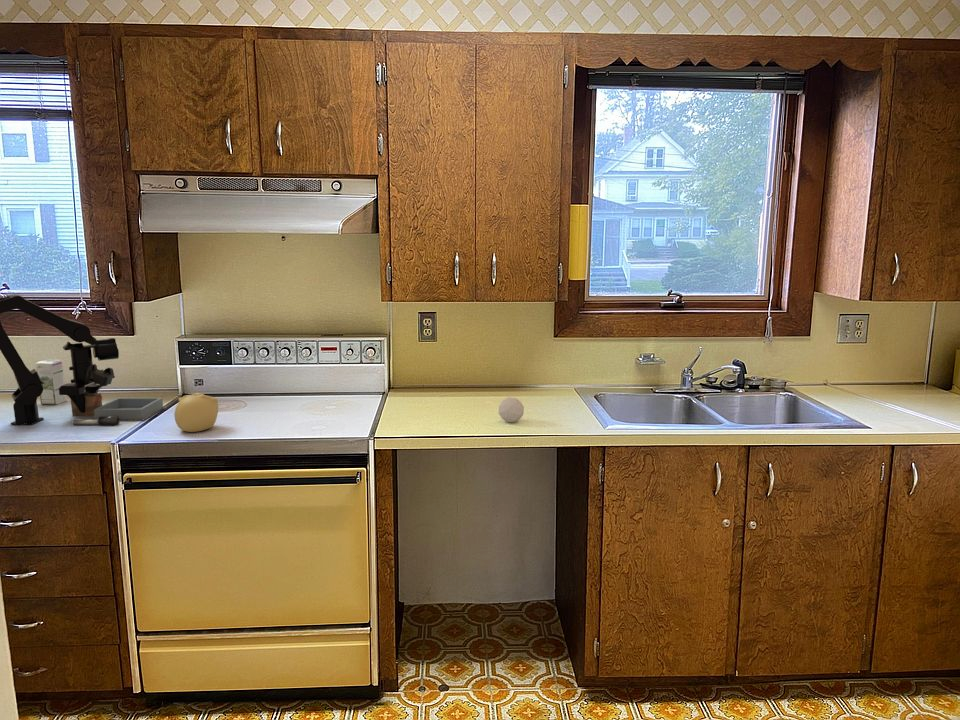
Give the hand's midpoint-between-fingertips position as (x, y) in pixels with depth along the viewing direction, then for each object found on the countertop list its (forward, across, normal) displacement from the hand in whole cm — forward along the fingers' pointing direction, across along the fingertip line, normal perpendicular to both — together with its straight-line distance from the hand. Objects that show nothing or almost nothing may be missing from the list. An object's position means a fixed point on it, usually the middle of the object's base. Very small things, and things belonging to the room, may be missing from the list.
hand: (87, 410), depth 224 cm
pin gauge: (+1, -13, -10) cm, 16 cm away
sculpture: (+1, -18, -42) cm, 46 cm away
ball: (+1, -11, -135) cm, 135 cm away
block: (+1, 0, 0) cm, 1 cm away
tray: (+1, -1, -14) cm, 14 cm away
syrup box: (+1, +14, +19) cm, 24 cm away
